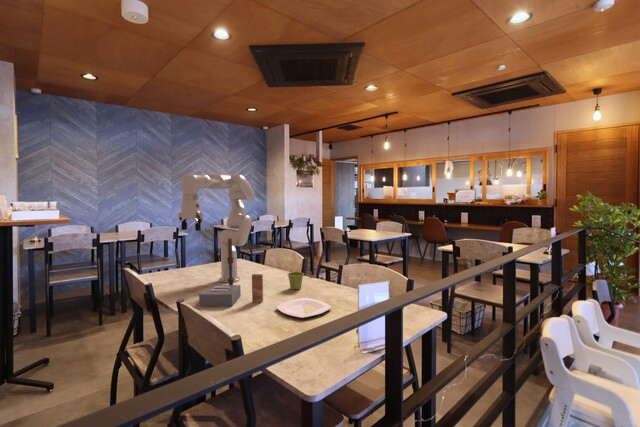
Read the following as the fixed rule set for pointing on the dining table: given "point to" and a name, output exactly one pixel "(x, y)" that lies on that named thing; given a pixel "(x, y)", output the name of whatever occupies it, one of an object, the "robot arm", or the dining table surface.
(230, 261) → the candlestick holder
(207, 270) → the dining table surface
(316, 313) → the plate
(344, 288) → the dining table surface
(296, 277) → the plant pot
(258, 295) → the tan upright bar
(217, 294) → the grey slotted base block
